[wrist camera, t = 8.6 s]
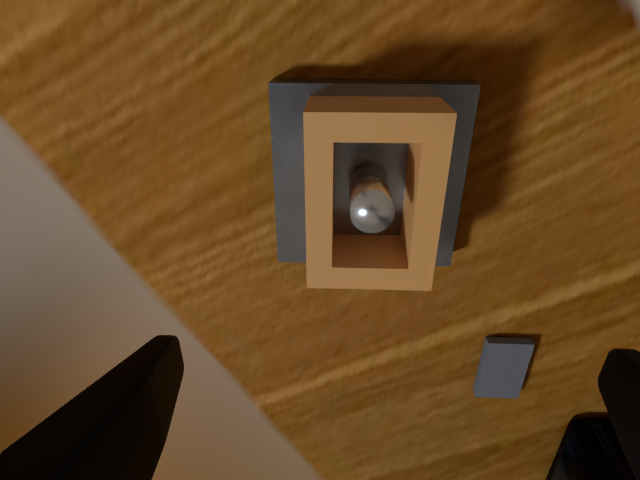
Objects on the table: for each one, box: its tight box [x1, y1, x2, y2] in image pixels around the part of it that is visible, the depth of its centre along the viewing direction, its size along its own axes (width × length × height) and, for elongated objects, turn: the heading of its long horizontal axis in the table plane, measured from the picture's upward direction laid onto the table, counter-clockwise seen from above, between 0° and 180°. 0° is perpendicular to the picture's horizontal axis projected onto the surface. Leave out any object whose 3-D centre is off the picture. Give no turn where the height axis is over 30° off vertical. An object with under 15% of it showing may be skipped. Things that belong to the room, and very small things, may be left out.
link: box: [303, 96, 457, 291], centre depth 17 cm, size 7×5×3 cm
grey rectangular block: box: [473, 337, 535, 398], centre depth 24 cm, size 4×2×1 cm, turn 0°
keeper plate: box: [269, 79, 481, 266], centre depth 17 cm, size 8×8×4 cm
